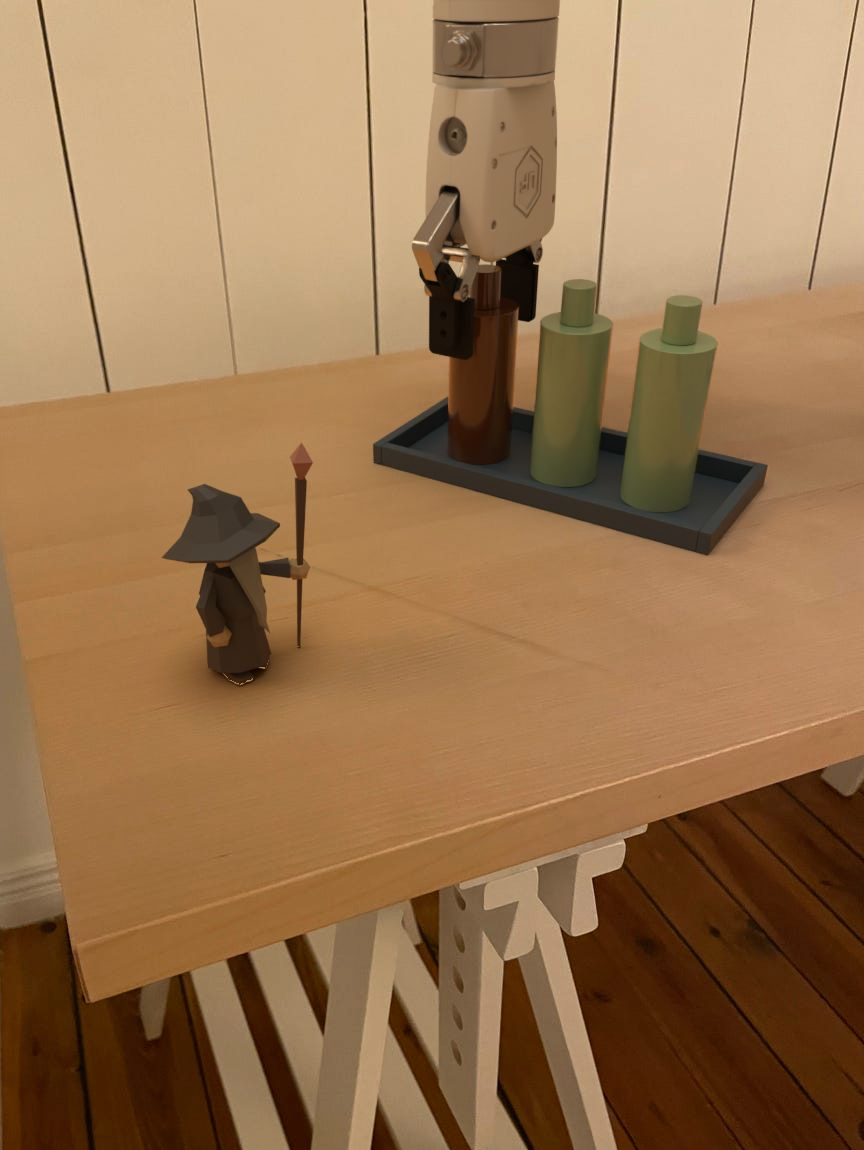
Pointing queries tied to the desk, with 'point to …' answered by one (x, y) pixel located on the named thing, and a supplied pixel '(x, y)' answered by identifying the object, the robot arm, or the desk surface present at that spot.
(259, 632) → the wizard figurine
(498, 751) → the desk surface
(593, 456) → the green bottle
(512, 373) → the brown bottle
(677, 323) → the green bottle
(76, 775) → the desk surface
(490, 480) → the tray
